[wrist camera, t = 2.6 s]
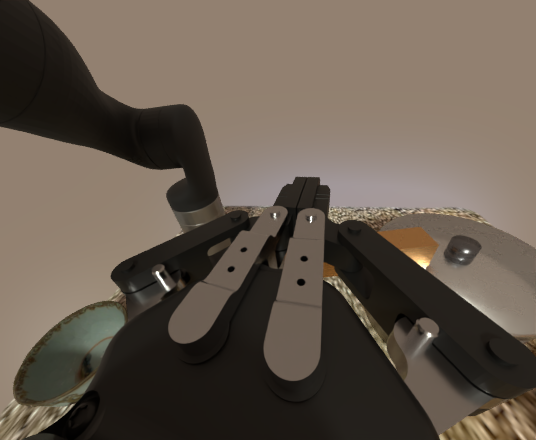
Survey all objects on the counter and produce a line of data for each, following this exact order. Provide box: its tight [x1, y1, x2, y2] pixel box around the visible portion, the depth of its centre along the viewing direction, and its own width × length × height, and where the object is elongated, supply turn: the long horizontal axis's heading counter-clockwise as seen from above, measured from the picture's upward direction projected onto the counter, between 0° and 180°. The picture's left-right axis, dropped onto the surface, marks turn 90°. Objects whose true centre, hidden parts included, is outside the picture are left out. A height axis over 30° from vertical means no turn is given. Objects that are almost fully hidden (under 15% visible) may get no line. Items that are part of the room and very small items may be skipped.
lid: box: [323, 213, 536, 341], centre depth 26 cm, size 30×19×6 cm, turn 92°
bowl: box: [13, 301, 128, 407], centre depth 32 cm, size 14×13×8 cm
